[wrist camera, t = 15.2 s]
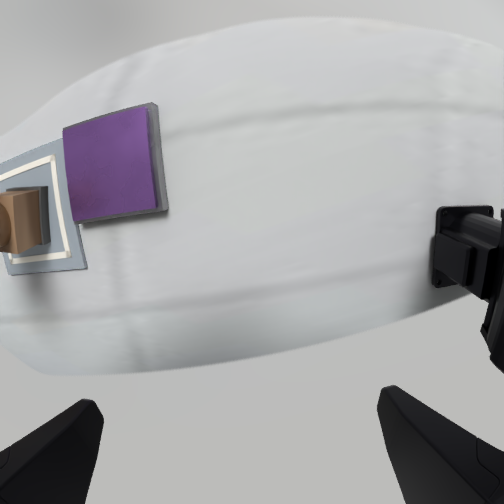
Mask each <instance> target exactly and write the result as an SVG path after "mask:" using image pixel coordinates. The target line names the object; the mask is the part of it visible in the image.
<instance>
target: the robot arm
mask: <svg viewBox="0 0 504 504" xmlns="http://www.w3.org/2000/svg"><path fill="white" fill-rule="evenodd" d="M444 211H445V214H444V216H443V212H444ZM488 211H489V213H488ZM493 214H494V210H493V207H492V206H489V205H471V206H442V207H440V208H439V209H438V213H437V234H436V243H435V255H434V268H433V277H432V285H433V286H435V287H436V288H441V287H446V286H451V285H456V284H459V285H460V286H462V287H464V288H466V289H467V290H469V291H470V292H472V293H473V294H474V295H476V296H477V297H479V298H480V299H481V300H485V301H486V302H488V303H489V305H488V308H487V312H486V316H485V320H484V323H483V324H482V327H481V330H480V332H481V334H482V335H483V337H484V339H485V341H486V343H487V345H488V348H489V351H490V353H491V355H490V360H491V361H492V363H493V364H494V365H495V366H496V367H497V368H498V369H499V370H501V372H502V373H504V209H501V218H502V221H500V220H497V219H494V218H493ZM438 280H439V281H438ZM437 281H438V283H437ZM377 412H378V416H379V420H380V424H381V428H382V432H383V436H384V440H385V445H386V449H387V452H388V455H389V458H390V461H391V463H392V466H393V469H394V471H395V474H396V477H397V480H398V483H399V485H400V488H401V491H402V494H403V497H404V500H405V503H406V504H504V452H503V451H501V450H499V449H497V448H495V447H493V446H492V445H490V444H488V443H486V442H485V441H483V440H481V439H479V438H477V437H476V436H475V435H473V434H471V433H469V432H468V431H466V430H465V429H463V428H462V427H460V426H458V425H457V424H455V423H454V422H452V421H450V420H449V419H447V418H445V417H444V416H442V415H441V414H439V413H438V412H436V411H434V410H433V409H431V408H430V407H428V406H427V405H425V404H424V403H422V402H420V401H419V400H417V399H416V398H414V397H413V396H411V395H409V394H408V393H406V392H405V391H403V390H402V389H400V388H399V387H397V386H395V385H391V386H387V387H384V388H382V390H381V393H380V397H379V401H378V405H377ZM103 424H104V418H103V415H102V414H101V412H100V410H99V409H98V407H97V405H96V403H95V402H94V401H93V400H89V399H81V400H80V401H78V402H77V403H75V404H74V405H72V406H71V407H69V408H68V409H66V410H65V411H64V412H62V413H60V414H59V415H57V416H56V417H54V418H53V419H51V420H50V421H48V422H47V423H45V424H43V425H42V426H40V427H39V428H37V429H36V430H34V431H33V432H31V433H30V434H28V435H27V436H25V437H23V438H22V439H21V440H19V441H17V442H15V443H14V444H12V445H11V446H9V447H8V448H6V449H4V450H3V451H1V452H0V504H85V501H86V497H87V493H88V489H89V486H90V482H91V478H92V475H93V471H94V468H95V464H96V460H97V456H98V451H99V445H100V440H101V434H102V429H103Z"/></svg>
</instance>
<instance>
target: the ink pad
mask: <svg viewBox="0 0 504 504" xmlns="http://www.w3.org/2000/svg"><path fill="white" fill-rule="evenodd" d="M62 132H63V148H64V160H65V170H66V178H67V186H68V193H69V200H70V206H71V212H72V218H73V221H74V225H76V224H82V223H87V222H93V221H99V220H105V219H112V218H118V217H125V216H131V215H138V214H145V213H152V212H159V211H164V210H166V209H168V200H167V193H166V185H165V177H164V169H163V160H162V150H161V140H160V129H159V116H158V105H156V104H154V103H152V102H151V103H146V104H142V105H138V106H134V107H130V108H126V109H122V110H119V111H115V112H112V113H108V114H105V115H101V116H98V117H95V118H92V119H89V120H86V121H83V122H80V123H77V124H74V125H71V126H68V127H66V128H63V131H62Z"/></svg>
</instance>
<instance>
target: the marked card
mask: <svg viewBox="0 0 504 504" xmlns="http://www.w3.org/2000/svg"><path fill="white" fill-rule="evenodd" d="M33 186H48V202H49V223H50V236H51V242H50V243H48V244H46V245H36V246H34V247H32V248H30V249H28V250H26V251H24V252H22V253H20V254H12V253H5V252H2V253H3V257H4V261H5V264H6V268H7V272H8V275H15V274H27V273H38V272H49V271H61V270H72V269H83V268H86V267H87V263H86V259H85V255H84V250H83V246H82V241H81V237H80V232H79V226H78V224H76V225H74V221H73V218H72V212H71V206H70V200H69V193H68V186H67V178H66V170H65V160H64V148H63V138H61V139H58V140H56V141H53V142H50V143H48V144H45V145H43V146H40V147H37V148H35V149H33V150H30V151H28V152H25V153H23V154H21V155H19V156H16V157H14V158H12V159H10V160H8V161H5V162H3V163H1V164H0V193H3V192H6V189H9V188H15V187H33Z"/></svg>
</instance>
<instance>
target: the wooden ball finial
mask: <svg viewBox="0 0 504 504" xmlns="http://www.w3.org/2000/svg"><path fill="white" fill-rule="evenodd" d="M50 242H51V236H50V223H49V202H48V186H33V187H15V188H9V189H6V192H3V193H0V252H5V253H12V254H20V253H22V252H24V251H26V250H28V249H30V248H32V247H34V246H36V245H46V244H48V243H50Z"/></svg>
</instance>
